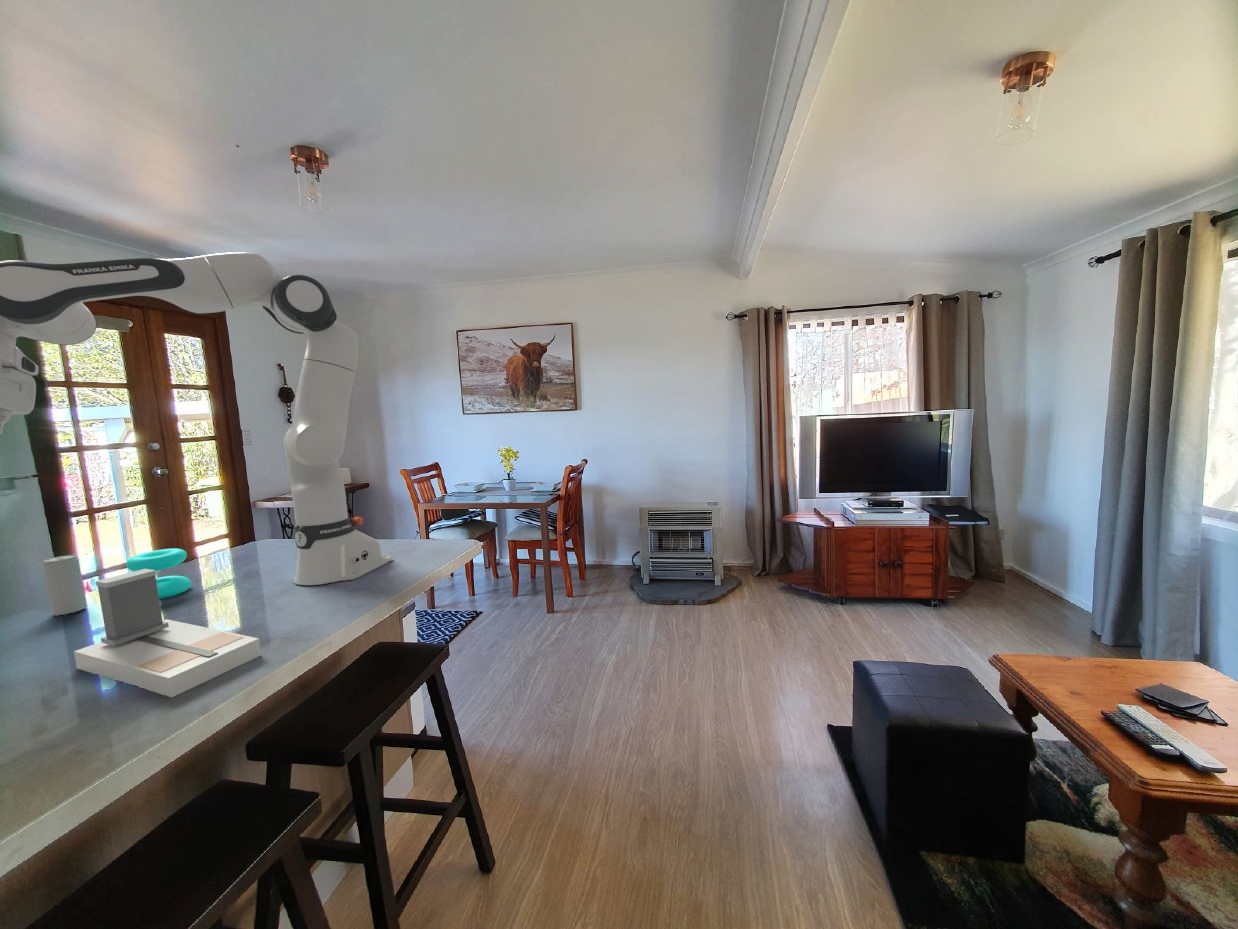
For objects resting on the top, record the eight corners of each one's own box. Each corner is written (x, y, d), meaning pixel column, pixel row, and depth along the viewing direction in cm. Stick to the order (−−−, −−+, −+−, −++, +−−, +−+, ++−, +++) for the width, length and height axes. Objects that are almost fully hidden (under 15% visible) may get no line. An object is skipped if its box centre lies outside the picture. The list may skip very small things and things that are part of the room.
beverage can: (62, 617, 96) (52, 562, 95) (46, 616, 97) (35, 561, 96) (93, 607, 101) (83, 554, 99) (76, 606, 102) (67, 554, 100)
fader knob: (101, 642, 76) (90, 582, 75) (155, 624, 83) (146, 567, 82) (114, 646, 75) (104, 584, 74) (168, 627, 81) (159, 569, 80)
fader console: (77, 668, 75) (73, 650, 75) (169, 634, 86) (166, 618, 86) (171, 697, 66) (168, 676, 66) (261, 655, 77) (258, 637, 77)
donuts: (196, 545, 112) (164, 557, 102) (202, 584, 113) (171, 600, 103) (148, 549, 110) (111, 562, 100) (154, 589, 111) (118, 605, 101)
